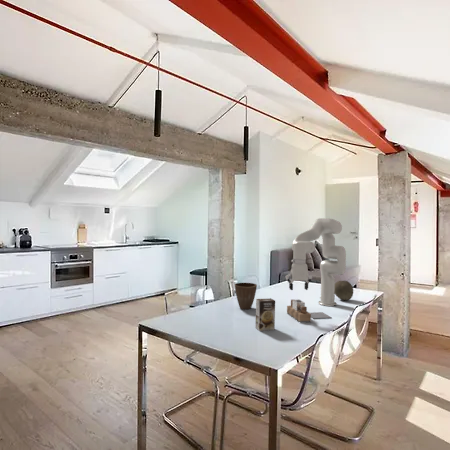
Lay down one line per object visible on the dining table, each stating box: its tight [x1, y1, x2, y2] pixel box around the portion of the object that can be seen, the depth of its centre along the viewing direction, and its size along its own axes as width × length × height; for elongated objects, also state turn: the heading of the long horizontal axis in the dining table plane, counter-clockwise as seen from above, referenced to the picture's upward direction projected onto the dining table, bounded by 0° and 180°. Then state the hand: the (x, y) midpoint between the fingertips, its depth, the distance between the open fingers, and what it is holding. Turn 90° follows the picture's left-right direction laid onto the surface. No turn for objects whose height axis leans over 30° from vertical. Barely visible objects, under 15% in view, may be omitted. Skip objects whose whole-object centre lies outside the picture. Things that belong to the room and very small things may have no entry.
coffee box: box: [254, 297, 276, 332], centre depth 187 cm, size 9×6×16 cm
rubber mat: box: [309, 311, 333, 320], centre depth 214 cm, size 12×12×1 cm
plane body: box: [286, 299, 312, 323], centre depth 210 cm, size 20×7×9 cm, turn 11°
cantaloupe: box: [335, 280, 354, 301], centre depth 259 cm, size 14×14×15 cm
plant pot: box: [234, 282, 258, 311], centre depth 230 cm, size 15×15×16 cm
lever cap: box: [292, 299, 306, 311], centre depth 210 cm, size 7×5×6 cm
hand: (298, 289), depth 209 cm, fingers open, 9 cm apart
